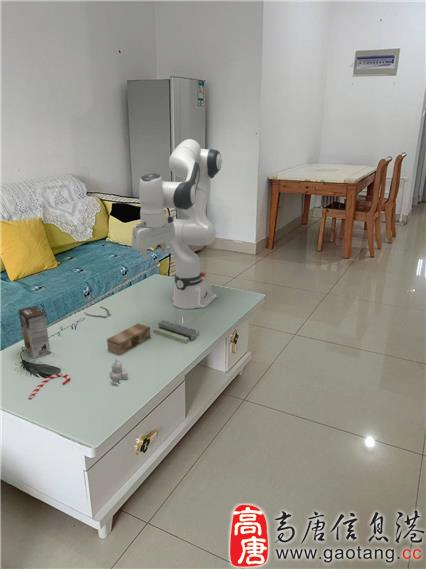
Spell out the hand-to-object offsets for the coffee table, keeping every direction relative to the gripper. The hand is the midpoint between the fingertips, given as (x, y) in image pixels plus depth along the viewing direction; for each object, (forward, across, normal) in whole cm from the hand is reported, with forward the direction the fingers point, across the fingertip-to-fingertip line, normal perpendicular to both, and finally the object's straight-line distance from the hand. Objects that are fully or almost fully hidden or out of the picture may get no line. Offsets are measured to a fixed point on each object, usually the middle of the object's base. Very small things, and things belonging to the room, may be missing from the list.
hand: (154, 256), depth 163 cm
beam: (+31, -16, 0) cm, 35 cm away
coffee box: (+31, -37, +26) cm, 55 cm away
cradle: (+31, 0, -9) cm, 32 cm away
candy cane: (+32, -49, +3) cm, 59 cm away
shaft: (+30, 0, -9) cm, 31 cm away
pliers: (+32, 0, +30) cm, 44 cm away
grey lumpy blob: (+31, -34, -13) cm, 48 cm away
